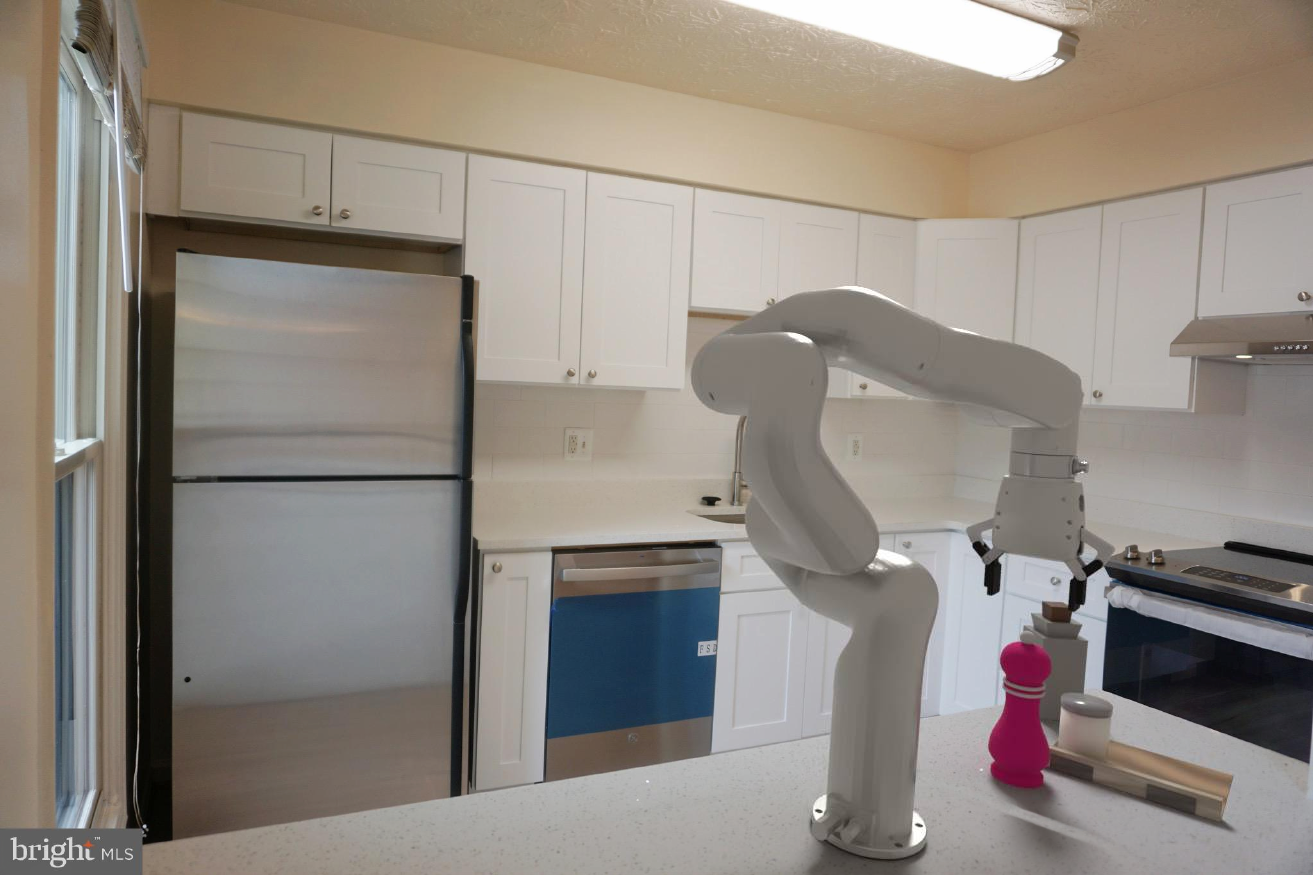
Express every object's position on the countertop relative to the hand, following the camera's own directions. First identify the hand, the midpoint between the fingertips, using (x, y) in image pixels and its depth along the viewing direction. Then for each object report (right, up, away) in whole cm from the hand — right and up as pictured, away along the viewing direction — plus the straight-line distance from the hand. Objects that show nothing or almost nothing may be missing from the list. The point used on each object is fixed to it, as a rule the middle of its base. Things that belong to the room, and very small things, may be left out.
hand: (1032, 601), depth 101 cm
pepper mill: (-2, -24, +1) cm, 24 cm away
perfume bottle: (+14, -23, +24) cm, 36 cm away
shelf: (+16, -24, +5) cm, 29 cm away
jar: (+10, -23, +7) cm, 26 cm away
